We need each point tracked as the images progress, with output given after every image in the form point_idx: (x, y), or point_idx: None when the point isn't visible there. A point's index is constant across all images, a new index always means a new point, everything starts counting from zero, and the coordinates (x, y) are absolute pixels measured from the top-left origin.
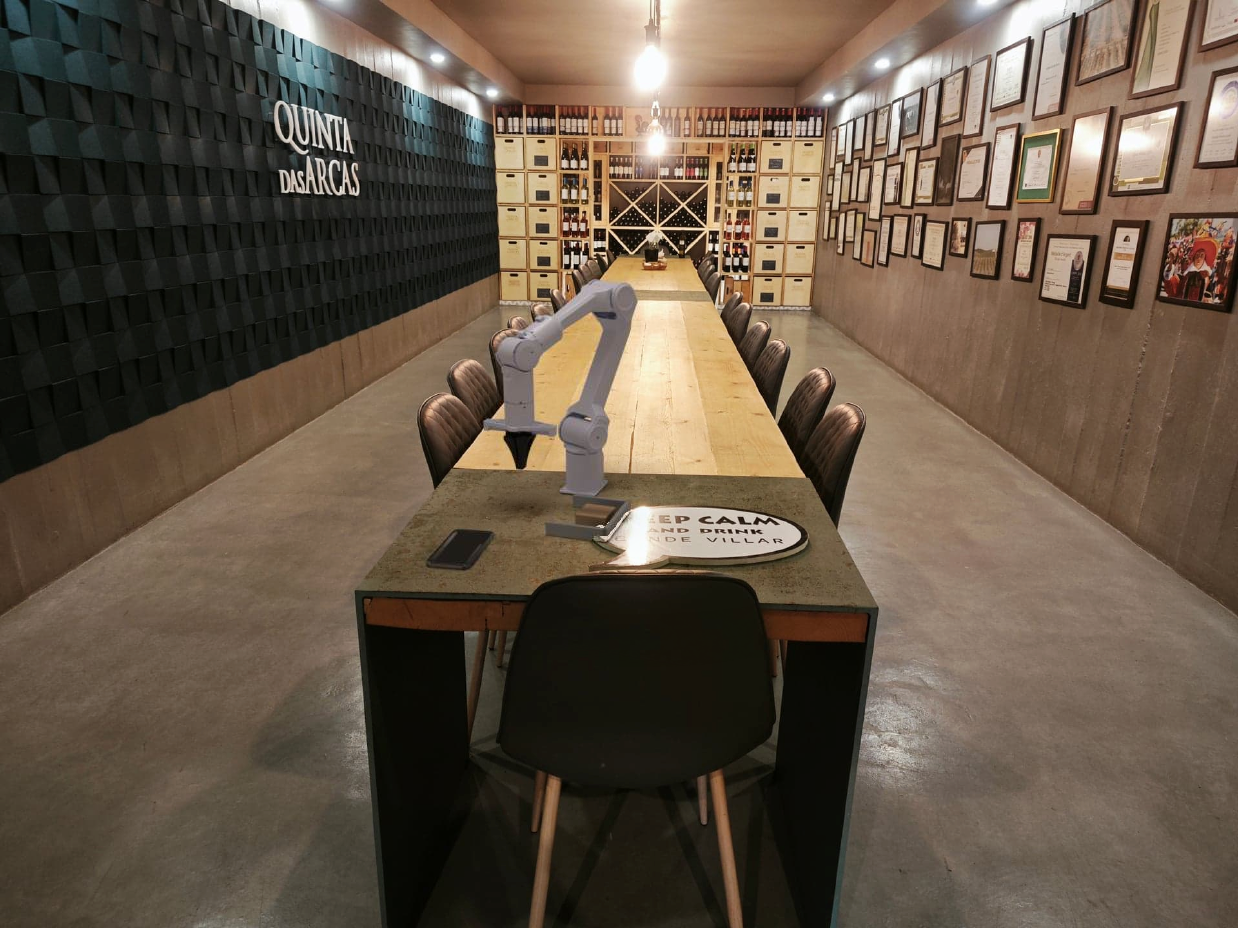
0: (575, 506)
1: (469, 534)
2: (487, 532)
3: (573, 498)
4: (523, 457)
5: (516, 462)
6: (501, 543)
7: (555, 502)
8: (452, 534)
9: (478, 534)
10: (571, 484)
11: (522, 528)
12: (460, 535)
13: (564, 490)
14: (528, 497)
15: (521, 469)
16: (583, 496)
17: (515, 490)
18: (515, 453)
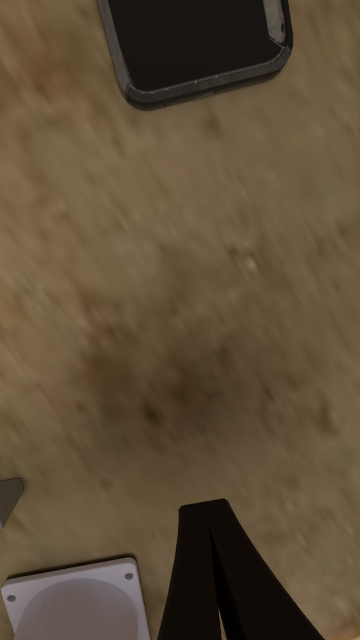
0: (9, 481)
1: (212, 36)
2: (155, 92)
3: (2, 505)
4: (166, 613)
5: (228, 539)
6: (55, 39)
7: (101, 485)
8: (278, 4)
9: (178, 54)
10: (88, 606)
11: (70, 224)
12: (241, 7)
13: (117, 571)
14: (210, 481)
15: (184, 505)
16: None
17: (280, 510)
18: (256, 634)
